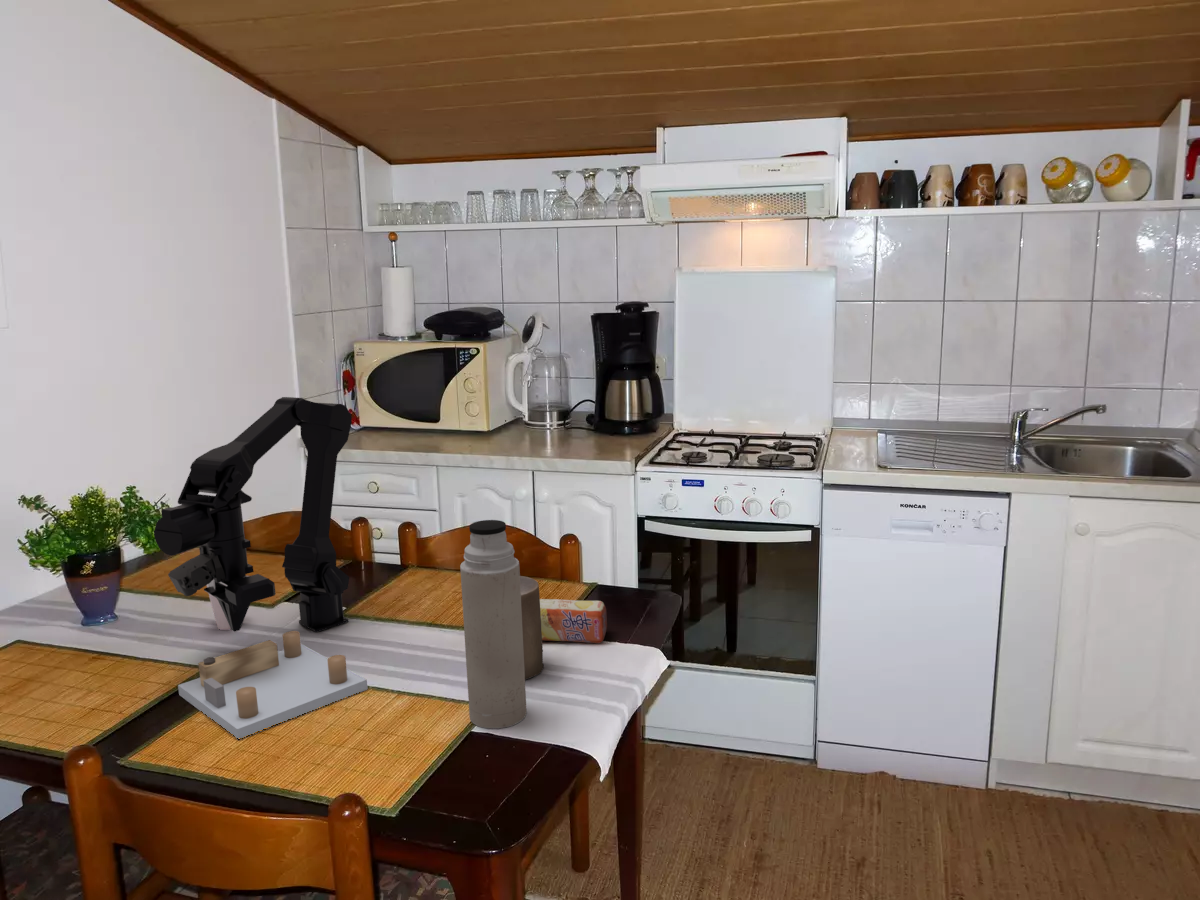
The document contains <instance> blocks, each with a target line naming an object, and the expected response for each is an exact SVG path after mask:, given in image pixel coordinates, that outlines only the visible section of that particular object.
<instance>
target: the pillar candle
mask: <svg viewBox="0 0 1200 900" xmlns="http://www.w3.org/2000/svg"><path fill="white" fill-rule="evenodd" d="M520 589H521V609H522V630H523V650H524V671H525V680H528V679H530V678H533V677H535V676H536V677H537V676H538V675H540V674H541V673H542V672H543V671H544V668H545V664H544V658H543V657H544V656H543V652H544V649H543V640H542V632H541V612H540V599H541V598H540V597H541V596H540V584H539V581H537V580H536V579H534V578H531V577H529V576H523V575H520Z"/></svg>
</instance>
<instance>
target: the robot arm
mask: <svg viewBox="0 0 1200 900" xmlns="http://www.w3.org/2000/svg"><path fill="white" fill-rule="evenodd" d="M352 417H353V416H352V413H351V412H350V411H349V409H348V407H347V406H346V405H344V404H342V403H332V402H331V403H330V402H329V403H328V402H315V401H311V400H307V399H304V398H303V397H293V396H291V397H290V396H282V397H280V398H278V399H276V401H275V402H274V404H273V406H271V407H270V408H269V409H268V410H267V411H266V412H265V413H263V414H262V415H261V416H260V417H259V418H258V419H257V420H255V421H254V422H253V423H252V424H250V426H248V427H247V428H246V429H244V430H243V432H241V433H240V434H238V435H237V436H236V438H234V439H232V441H231V442H228V443H227V444H224V445H221V446H218V447H216V448H213V449H210V450H209V451H206V452H205V453H203V454H201V455H200V456H198V457H197V458H195V459H194V461H192V463H191V465H190V466H189V469H190V471H189V474H188V476H187V478H186V480H185V483H184V486H183V488H182V490H181V493H180V495H179V497H178V499H177V505H176V506H174V507H166V508H163V509H161V518H159V519H158V520H157V522H156V523H155V527H154V530H153V536H154V540H155V542H156V544H157V546H158V548H159V549H160V550H161V551H162V553H164V554H166V555H168V556H177V555H179V554H182V553H185V552H187V551H191V550H192V549H195V548H198V549H199V554H198V555H196V556H194V557H193V558H191V559H188V560H186V561H184V562H183V563H182V564H180V565H178V566H177V567H175V568H174V569H172V570H170V571H169V572H168V574H167V575H168V578H169V579H170V581H171V582H172V584H173V586H174V588H175V589H176V592H178V593H181V594H183V596H185V597H190V596H193V595H195V594H197V592H198V591H199V590H201V589H203V591H204V592H206V593H207V594H208V593H209V594H211V595H212V596H214V597H216V598H217V600H218V601H219V604H220V606H221V608H222V610H223V612H224V614H225V617H226V619H227V621H228V624H229V626H230V628H231V629H230V630H231V631H232V632H234V633H235V632H238V631H240V630H241V628H242V625H243V623H244V621H245V617H246V615H247V612H248V611H249V608H250V605H251V603H254V602H257V601H262V600H265V599H268V598H271V597H275V595H276V586H275V582H274V581H273V580H272V579H270V578H267V577H265V576H263V575H262V574H259V573H256V574H252V575H247V574H251V573H254V565H252V564H249V563H248V562H249V561H248V555H247V553H248V552H247V549H248V548H251V547H252V546H251V540H249V539H246V538H245V537H246V536H245V528H244V527H245V526H244V520H243V512H242V511H243V510H242V505H243V504H246V503H249V502H251V501H252V499H253V498H252V496H251V495H249V494H247V493H245V492H244V491H243V490H242V489H243V488H244V487H245V485H246V484H247V483H248V481H250V479H251V478H252V475H253V471H254V467H255V465H256V463H257V462H258V461H260V459H262V458H263V456H265V455H266V454H267V453H268V452H269V451H270V450H271V449H272V448H273V447H274V446H276V445H277V444H278V443H279V442H280V441H281V440H282V439H283V438H285V436H287V434H288V433H290V432H291V431H292V430H293V429H294V428H296V426H297V427H300V428H299V429H300V438H301V441H302V442H303V444H304V447H305V449H306V452H307V458H306V466H305V467H306V469H305V476H304V477H305V478H304V487H303V495H302V505H301V514H300V515H301V516H300V524H299V534H298V536H297V537H296V538H295V540H294V541H293V543H287V544H285V547H284V557H283V558H284V559H283V563H282V565H281V567H282V568H284V577H285V578H286V579H287V580H288V582H289V584H290V586H291V589H292V591H293V592H300V593H299V594H300V601H299V602H298V608H299V609H298V611H299V618H300V619H299V620H298V624H299V625H302V626H303V627H306V628H307V629H309V630H311V631H313V632H315V633H316V632H317V633H318V632H322V631H324V630H327V629H331V628H334V627H336V626H339V625H342V624H346V623H348V622H349V618H348V617H346V616H344V608H343V606H344V605H343V596H342V594H343V593H344V591H346V590H348V589H349V583H350V576H349V575H348V574H346V573H345V572H344V571H343V570H341V569H340V568H339V567H338V566H337V551H336V550H335V547H334V545H333V543H332V540H331V538H330V530H331V520H332V518H331V517H332V509H333V501H334V500H333V498H334V490H335V481H336V479H335V478H336V470H337V462H338V455H339V453H341V450H342V449H343V448H344V446H345V445H346V443H347V442H348V441H349V436H350V432H351V427H352V420H353V419H352ZM200 493H204V494H200ZM208 494H210V495H208ZM211 494H213V495H211ZM207 584H208V586H209V587H207V586H206V585H207ZM209 594H208V595H209Z"/></svg>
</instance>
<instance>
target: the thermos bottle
mask: <svg viewBox="0 0 1200 900" xmlns="http://www.w3.org/2000/svg"><path fill="white" fill-rule="evenodd" d="M468 527H469V532H470V535H469V537H470V538H469V540H470V542H469V544H467V546H466V547H465V548H464V554H463V559H464V561H462V562H461V564H460V567H459V568H460V584H461V600H462V617H463V632H464V633H463V635H464V647H465V649H464V650H465V663H466V664H465V665H466V666H465V667H466V679H467V680H466V681H467V696H468V697H467V698H468V712H469V720H470V722H471V723H472V724H473V725H475V726H477V727H480V728H483V729H489V730H490V729H492V730H493V729H494V730H495V729H504V728H509V727H512V726H515V725H516V724H518V723H521V721H523V720H525V717H526V716H527V693H526V679H525V671H524V650H523V630H522V609H521V589H520V576H521V573H520V572H521V571H520V561H519V560H518V558H516V557H515V556H514V554H515V549H514V546H513V545H514V544H512V543H510V542H509V541H508V539H507V533H506V529H507V524H506V522H504V521H503V520H498V519H484V520H478V521H474V522H472V523H470V524H469V526H468Z"/></svg>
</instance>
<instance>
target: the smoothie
mask: <svg viewBox="0 0 1200 900" xmlns="http://www.w3.org/2000/svg"><path fill="white" fill-rule="evenodd" d="M205 587H206V588H207V587H209V586H208V584H207V585H206V586H205ZM207 594H208V596H209V601H210V604H211V608H212V613H213V617H214V619H215V623H216V627H217V629H218V630H219V629H220V630H221V631H228V630H229V629H230V630H231V628H230V626H229V624H228V621H227V619H226V617H225V614H224V612H223V610H222V608H221V606H220V604H219V601H218V600H217V598H216V597H214V596H212V595H211V594H209V593H207ZM220 630H219V631H220Z"/></svg>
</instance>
